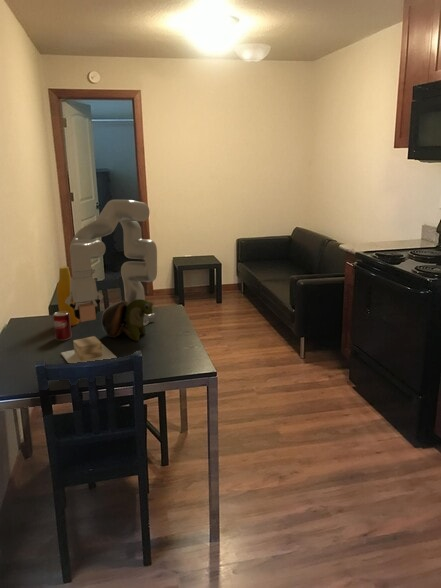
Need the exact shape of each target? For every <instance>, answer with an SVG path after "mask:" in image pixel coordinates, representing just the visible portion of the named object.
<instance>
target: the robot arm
mask: <svg viewBox="0 0 441 588" xmlns="http://www.w3.org/2000/svg"><path fill="white" fill-rule="evenodd" d="M149 217H150V207H149V206H148V204H147V203H146V202H143V201H137V200H133V199H111V200H109V201H107V202H106V204H105V205H104V207H103V209H102V211H101V212H100V213H99V214H98V216H97V218H96V219H95V220H94V221H91V222H90V223H88V224H87V225H84V226H83V227H82V228H80V229H79V230H78V231H77V232H76V233H75V234H74V236H73V238H72V239H71V242H70V244H69V254H70V265H71V275H72V277H71V279H70V296H69V297H68V298H67V299H66V301H65V303H66V304H68V305H69V306H71V307H72V308H73V309H74V313H75V317H76V318H77V319H80V314H79V310H78V306H79V303H85V302H91V303H93V304H94V305H95V313H96V314H98V308H97V307H98V305H99V303H101V301H102V299H103V298H104V295H103V294H101V293H100V292H99V291H98V287H97V283H96V279H95V276H94V275H93V274H94V273H96V269H93V268H92V261H91V260H92V259H93V260H94V259H100V258H102V257H103V256H104V254H105V253H106V248H107V247H106V244H105V243H104V242H103V241H101V240H100V239H98V238H103V237H106V236H108V235H111V234H112V233H113V232H114V231H115V229H116V228H117V225H118V224H119V223H120V225H121V227H122V230H123V231H122V233H123V254H124V256H125V257H126V258H128V259H132V260H133V259H134V260H135V259H136V260H144V261H136V260H135V261H134V260H133V261H132V260H130V261H125V262H124V263H123V264H122V265H121V267H120V274H121V278H122V282H123V289H124V301H126V302H127V303H128V304H129V303H131V302H132V301H134V300H139V299H141V300H145V288H144V286H143V284H142V282H144V283H151V282H154V281H155V280H156V279H157V275H158V249H157V248H158V247H157V244H156V243H155V241H154V240H152V239H147V238H145V239H144V238H143V237H142V235H143V234H142V226H140V223H139V222H145V221H147V220H148V218H149ZM71 300H72V301H73V302H74V305H73V304H72V303H70V301H71ZM145 301H146V300H145ZM155 317H156V315H155V313H152V314H150V315H147V314H145V317H144V318H143V319H144V322H143V324H144V327H145V326H147V325H148V324H149V323H150V320H149V319H150V318H151V319H152V318H155ZM126 327H127V325H126Z"/></svg>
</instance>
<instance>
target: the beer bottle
mask: <svg viewBox="0 0 441 588" xmlns="http://www.w3.org/2000/svg"><path fill="white" fill-rule="evenodd" d="M58 273H59V277H58V283H57V286H56V295H57V305H58V307H57V308H58V312H61V311H66V312H68V313H69V314H70V324H71V327H74V326H77V325H79V323H80V320H79V319H77V318H76V317H75V313H74V309H73V308H72V307H71V306H69V305H68V304H66V303H65V301H66V299H67V298H68V297H69V296H70V279H71V278H72V277H71V274H70V269H69V266H60V267H59V272H58ZM70 303H72V304H73V305H74V302H73V301H72V300H71V301H70Z"/></svg>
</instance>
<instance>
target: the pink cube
mask: <svg viewBox="0 0 441 588" xmlns="http://www.w3.org/2000/svg"><path fill="white" fill-rule="evenodd" d="M78 310H79V314H80V319H79V322H81V323H83V322H88V321H94V320H96V319H97V313H95V305H94V304H93V303H92V302H91V301H88V302H82V303H79V306H78Z"/></svg>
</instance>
